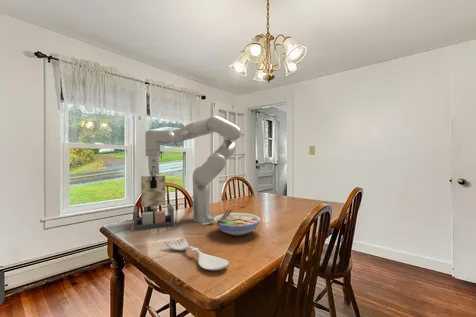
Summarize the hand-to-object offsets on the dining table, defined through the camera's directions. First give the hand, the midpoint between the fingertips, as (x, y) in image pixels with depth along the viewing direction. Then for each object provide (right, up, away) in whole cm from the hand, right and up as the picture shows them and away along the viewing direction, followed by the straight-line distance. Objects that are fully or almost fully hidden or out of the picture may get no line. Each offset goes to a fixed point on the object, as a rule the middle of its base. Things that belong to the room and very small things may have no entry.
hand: (153, 187), depth 125 cm
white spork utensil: (+30, -22, -39) cm, 54 cm away
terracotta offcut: (+5, -19, -4) cm, 20 cm away
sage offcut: (-1, -19, -6) cm, 20 cm away
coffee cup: (-7, -21, +13) cm, 26 cm away
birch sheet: (0, -10, 0) cm, 10 cm away
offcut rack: (+1, -21, -3) cm, 21 cm away
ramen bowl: (+45, -21, -12) cm, 51 cm away
